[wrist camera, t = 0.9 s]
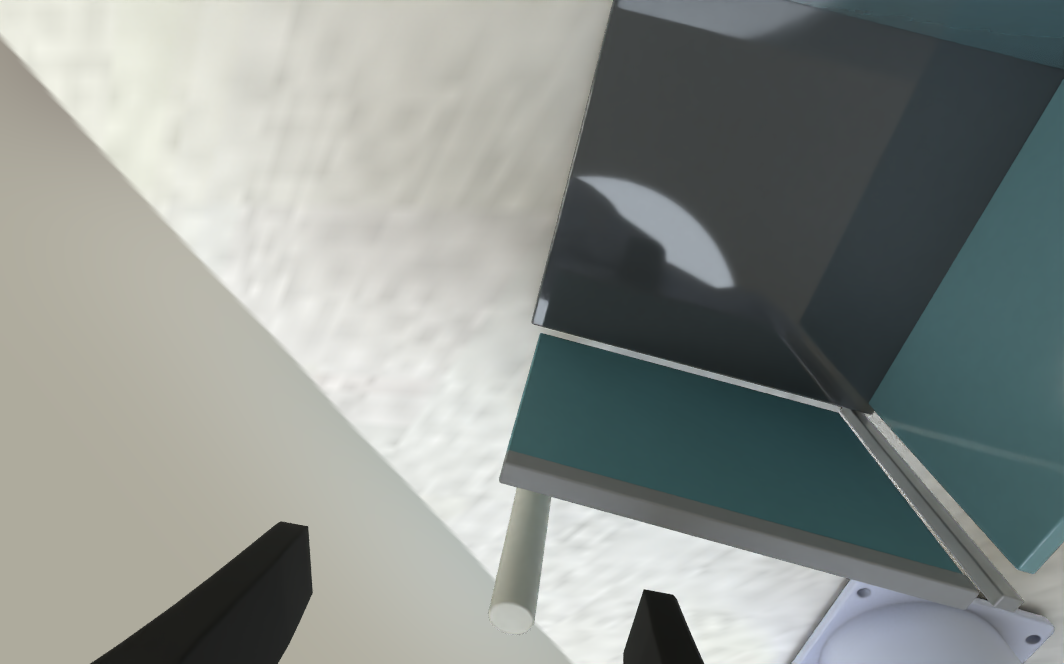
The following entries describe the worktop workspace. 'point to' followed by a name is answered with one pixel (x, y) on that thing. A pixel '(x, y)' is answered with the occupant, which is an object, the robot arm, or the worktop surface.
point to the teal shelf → (703, 476)
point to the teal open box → (843, 231)
